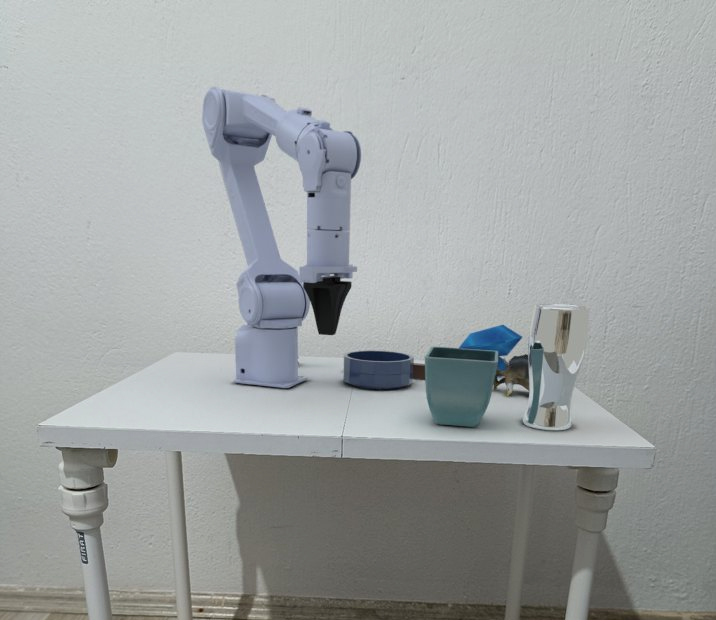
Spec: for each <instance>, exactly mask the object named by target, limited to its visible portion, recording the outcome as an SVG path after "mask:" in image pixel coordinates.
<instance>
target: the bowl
mask: <svg viewBox="0 0 716 620" xmlns="http://www.w3.org/2000/svg"><path fill="white" fill-rule="evenodd" d="M342 362H343V363H342V365H343V367H342V381H343V382H344V383H347V384H349V385H351V386H353V387H356V388H360V389H361V388H362V389H367V390H397V389H400V388H404V387H407V386H410V385H411V384H412V383H413V381H414V379H413V365H414V363H415V357H414V356H413V355H412V354H408V353H405V352H400V351H399V352H398V351H393V350H392V351H390V350H374V349H372V350H369V349H368V350H355V351H354V350H353V351H348V352H346V353H343V361H342Z"/></svg>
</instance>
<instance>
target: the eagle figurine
mask: <svg viewBox="0 0 716 620" xmlns="http://www.w3.org/2000/svg"><path fill="white" fill-rule="evenodd" d="M503 359H504V362H505V364H506V366H507V369H506V370H501V371H499V368H498V367H497V369H496V374H495V379H494V384H493V389H492V390H494V391H496V390H497V389H498V386H500V385H502V384H505V387H506V397H509V396H510V394H512V393H513V389H514V385H519V386H522V387H523V388H525V390H527V391H528V392H529V369H528V354H527V353H525V354H523V355H514V356H513V357H512V358H510V360H508V361H507V360H506V357H503ZM507 362H508V363H509V364H508V363H507ZM497 375H499V376H503V377H502V378H501V379H499V380H498V376H497Z"/></svg>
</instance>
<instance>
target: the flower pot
mask: <svg viewBox="0 0 716 620" xmlns="http://www.w3.org/2000/svg"><path fill="white" fill-rule="evenodd" d="M498 353H499V352H498V351H492V350H477V349H461V348H459V347H448V346H447V347H446V346H431V347H430V348H429V350H428V352H427V353H426V354H425V356H424V364H425V380H424V381H425V395H426V402H427V405H428V408H429V412H430V414H431V416H432V418H433V420H434V422H435V423H436V424H437V425H440V426H443V425H444V426H445V425H446V426H457V427H467V428H475V427H477V426H478V424H479V423H480V422H481V420H482V418H483V417H484V415H485V414H486V411H487V409H488V406H489V404H490V401H491V398H492V393H493V390H494V389H493V387H494V385H493V384H494V379H495V374H496V369H497V365H498Z"/></svg>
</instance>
